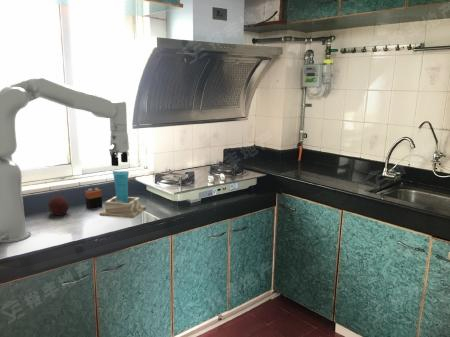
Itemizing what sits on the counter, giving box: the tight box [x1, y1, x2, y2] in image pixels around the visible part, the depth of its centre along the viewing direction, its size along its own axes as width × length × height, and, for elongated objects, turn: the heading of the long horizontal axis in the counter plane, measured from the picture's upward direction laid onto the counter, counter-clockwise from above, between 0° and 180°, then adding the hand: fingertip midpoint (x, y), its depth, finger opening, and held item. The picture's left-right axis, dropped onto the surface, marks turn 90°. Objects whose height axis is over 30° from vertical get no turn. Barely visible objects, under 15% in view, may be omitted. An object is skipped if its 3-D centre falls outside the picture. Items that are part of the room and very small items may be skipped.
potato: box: [47, 195, 70, 216], centre depth 181 cm, size 9×12×9 cm
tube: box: [112, 170, 129, 203], centre depth 184 cm, size 7×5×19 cm, turn 95°
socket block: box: [98, 195, 146, 219], centre depth 186 cm, size 15×17×6 cm
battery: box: [84, 187, 103, 211], centre depth 192 cm, size 4×7×10 cm, turn 136°
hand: (119, 163), depth 182 cm, fingers open, 9 cm apart
